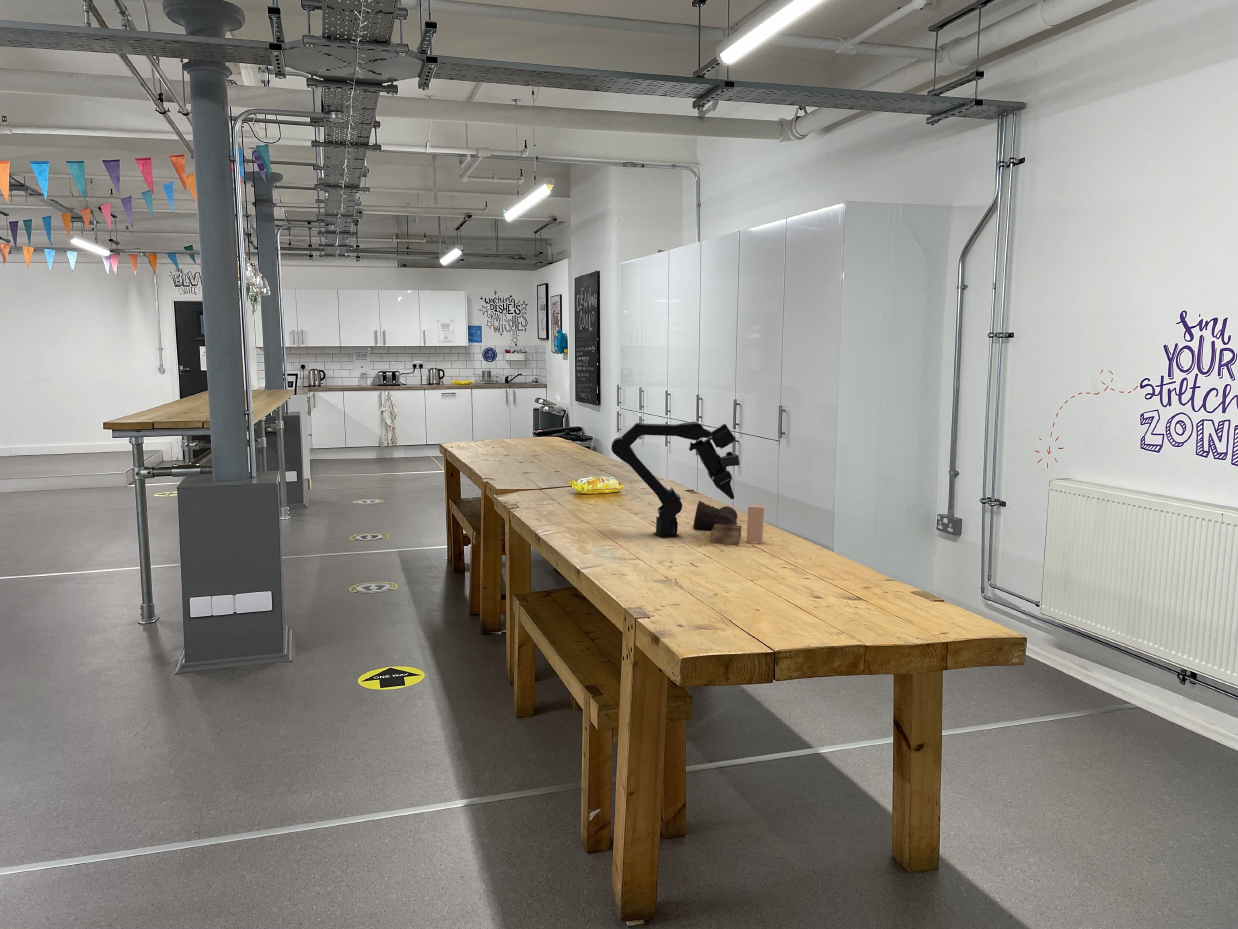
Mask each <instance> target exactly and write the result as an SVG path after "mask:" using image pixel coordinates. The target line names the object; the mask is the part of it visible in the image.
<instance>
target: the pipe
mask: <svg viewBox="0 0 1238 929" xmlns="http://www.w3.org/2000/svg"><path fill="white" fill-rule="evenodd" d="M737 520H738V513H737V511H736V509H734V508H733V507H731V506H723V507H720V508H717V507H714V506H713V505H712V506H711V505H710V504H706V503H705V502H704V501H702V500H699V501H698V502H697V506H696V510H695V516H694V518H693V525H692V526H693V527H692V528H693V529H702V530H705V529H707V530H709V529H710V530H712V529H713V528H714V524H723V525H737V523H738V522H737Z"/></svg>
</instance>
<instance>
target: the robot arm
mask: <svg viewBox="0 0 1238 929" xmlns="http://www.w3.org/2000/svg"><path fill="white" fill-rule="evenodd" d="M641 436H663V437H664V436H666V437H677V438H683V439H686V440H691V441H690V442H689V448H688V451H689V452H692V451H694V450H695V451H696V453H697V455H698V457H699V459H700V461H701V463H702V464H703V466H704V468H705V469H706V471H707V475H708V477H709V478H710V480H711V481H712V482H713V484H714V486H715V487H716V488H717V489H718V490H720V491H721V492H722V493H723V494H725V495H726V496H727V497H728V498H730V500H734V499H735V495H734V490H733V489H732V488H733V487H732V485H731V482H732V480H733V475H732V473H731V472H730V471H729V470H727V469H728V468H727V467H732V466H735V467H737V466H740V464H741V463H740V458H739V457H740V456H739V454H736V453H734V454H733V452H732V451H727V452H726V453H725V455H724V456H721V455H720V454H719V453H717V450H716V449H717V448H720V450H723V449H724V448H726V447H728V446H729V445H731V444H733V443H735V442H737V441H736V437H735V435H733V432H731V430H730V428H729V427H728V426H727V423H722V425H720V426H718V427H717V428H715V429H713V430H709V429H706V428H704V427H703V425H702V424H701V423H700V422H698V421H689V422H681V423H677V424H674V423H673V424H672V423H670V424H669V423H667V424H666V423H642V422H636V423H634V424H633V425H632V427H631V428H629V430H627V431H626V432H625V433H624V434H623V435H622V436H617V437H616V438H614V439H613V440H612V443H611V452H612V453H613V454H614V455H615V456H616V457H617V458H619V459H620V460H621V461H623V462H625V464H627V465H629V467H630V468H631V469H632V470H634V472H635V473H636V475H638V476H639V478H640V479H642V481H643V482H644V483H645V484H646V486H648V487H649V488H650V490H652V492H653V493H654V494H655V495H656V496H657V498H658V500H659V501H660V503H661V505H660V506H659V507H658V508H657V512H658V516H656V523H655V532H653V533H652V534H653V535H655V536H658V537H660V538H673V537H674V538H675V537H680V534H678V524H679V523H678V517H677V515H678V514H679V513H680V512H682V509H683V503H682V498H681V496H680V494H679V493H677V492H676V490H675V489H674V488H673V487H670V489H669V488H667V487H666V486H664V484H662V482H661V481H660V480H659V478H657V477H656V476H655V475H654V474H653V473H652V472H651V470H650V469H649V468H648V467H647V466H646V465H645V464H644V463H643V462H642V461H641V459H640V458H639V457H638V455H636V453H635V451H634V449H633V448H632V445H633V444H634V443H635V442H636V441H637V440H638V439H639V438H640V437H641ZM702 438H703V439H704V440H703V439H702ZM692 441H695V442H692ZM713 444H714V445H713ZM714 446H715V447H714ZM715 448H716V449H715Z"/></svg>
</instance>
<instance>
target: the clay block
mask: <svg viewBox="0 0 1238 929" xmlns="http://www.w3.org/2000/svg"><path fill="white" fill-rule="evenodd" d="M764 519H765V505H761V504H760V505H759V504H748V508H747V524H746V542H757V543H762V544H763V541H762V540H763V539H764V538H763V537H764Z"/></svg>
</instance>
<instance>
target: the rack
mask: <svg viewBox="0 0 1238 929" xmlns="http://www.w3.org/2000/svg"><path fill="white" fill-rule="evenodd" d="M741 537H742V525H737V524H736V525H723V524H714V528H713V529H711V531H710V539H709V543H710V544H717V543H719V544H720V545H723V544H724V545H731V546H732V545H733V546H739V544H740V541H741ZM739 540H740V541H739Z"/></svg>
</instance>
